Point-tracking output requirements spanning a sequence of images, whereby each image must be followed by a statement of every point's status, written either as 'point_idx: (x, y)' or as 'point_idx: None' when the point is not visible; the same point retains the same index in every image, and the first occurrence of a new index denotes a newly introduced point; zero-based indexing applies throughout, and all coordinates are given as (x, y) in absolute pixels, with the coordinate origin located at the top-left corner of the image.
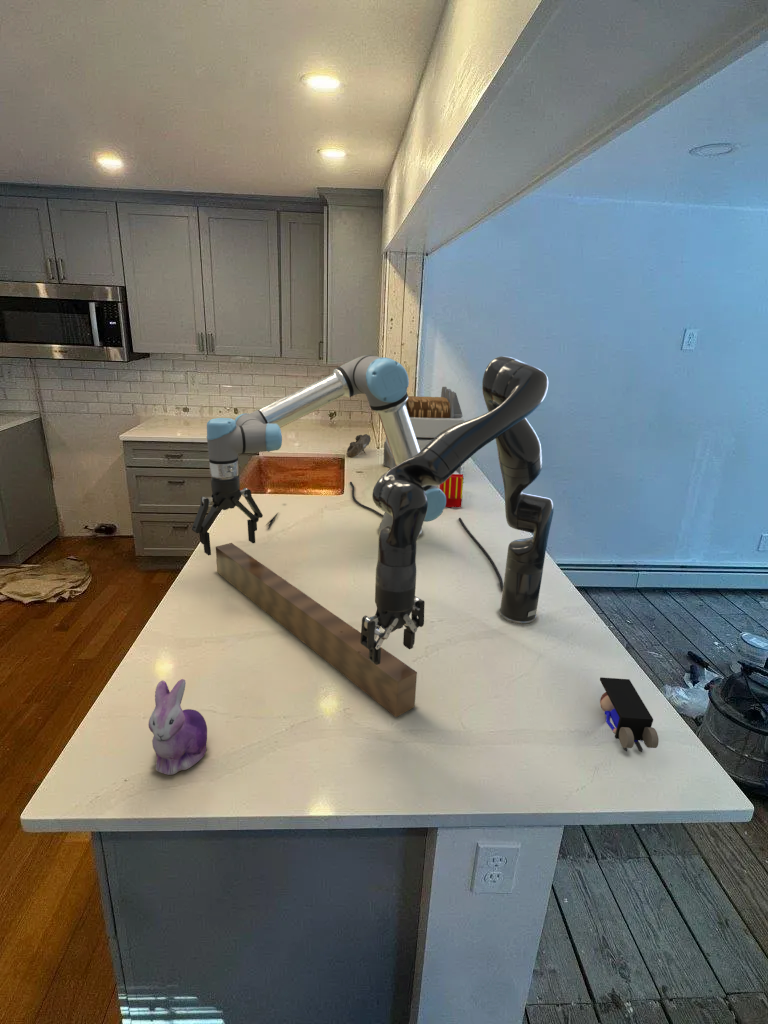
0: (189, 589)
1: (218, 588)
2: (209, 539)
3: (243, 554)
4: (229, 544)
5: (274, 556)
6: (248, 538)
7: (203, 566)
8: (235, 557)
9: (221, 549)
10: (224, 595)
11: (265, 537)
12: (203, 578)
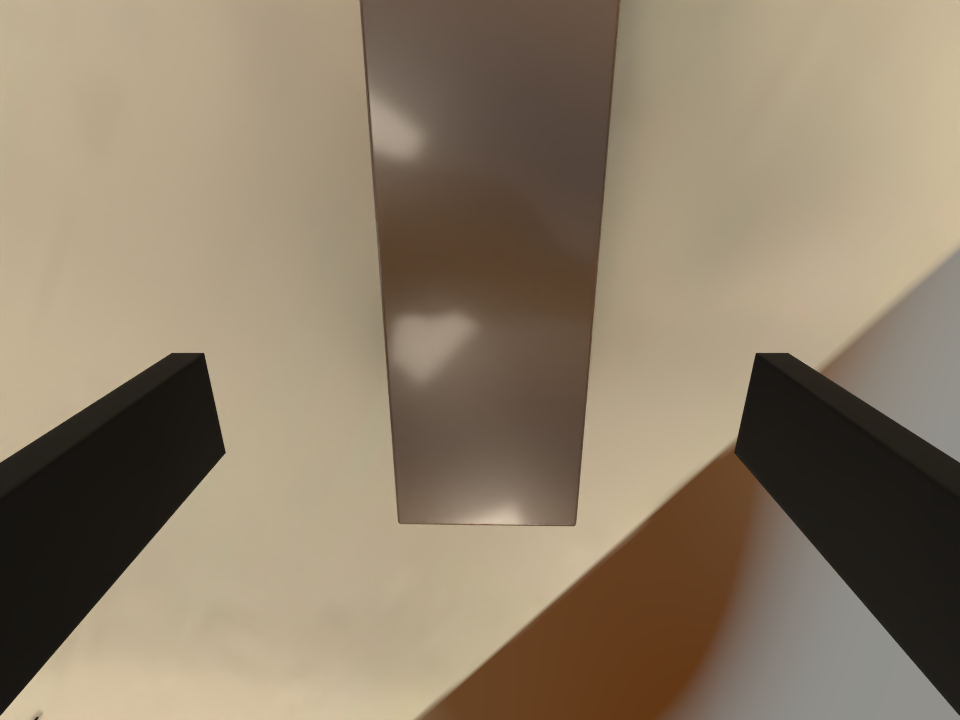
0: (821, 280)
1: (666, 170)
2: (918, 466)
3: (424, 162)
4: (435, 499)
5: None
6: (212, 467)
7: None
8: (554, 132)
9: (566, 436)
10: (699, 20)
11: (85, 648)
12: (658, 374)
